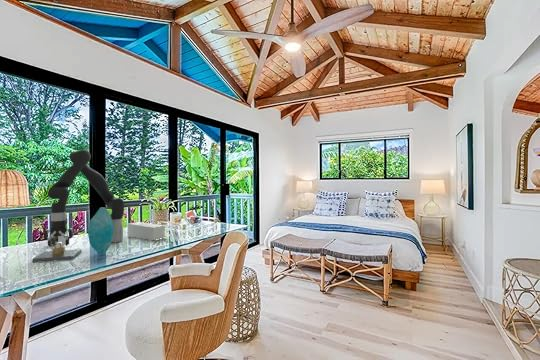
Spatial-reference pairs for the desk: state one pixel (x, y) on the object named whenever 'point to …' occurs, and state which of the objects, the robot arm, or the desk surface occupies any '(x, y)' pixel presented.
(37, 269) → the desk surface
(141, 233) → the light grey long block
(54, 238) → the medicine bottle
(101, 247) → the crystal
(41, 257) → the piston stand
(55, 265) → the desk surface
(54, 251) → the bronze ring
